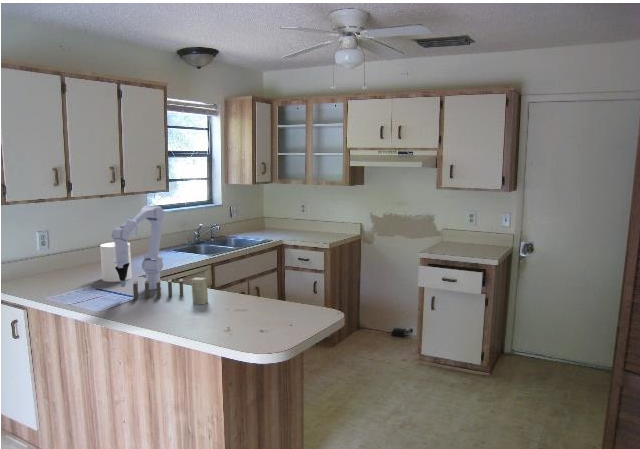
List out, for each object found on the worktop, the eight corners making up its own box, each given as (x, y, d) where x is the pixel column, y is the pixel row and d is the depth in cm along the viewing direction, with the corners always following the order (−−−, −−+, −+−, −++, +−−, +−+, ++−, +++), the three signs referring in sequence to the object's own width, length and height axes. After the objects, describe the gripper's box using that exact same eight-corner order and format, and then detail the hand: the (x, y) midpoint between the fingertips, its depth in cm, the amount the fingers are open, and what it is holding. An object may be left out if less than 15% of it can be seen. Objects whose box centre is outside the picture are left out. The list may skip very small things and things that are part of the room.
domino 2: (134, 296, 252) (134, 281, 250) (138, 296, 252) (137, 281, 251) (133, 299, 247) (133, 284, 246) (137, 299, 247) (136, 283, 246)
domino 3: (146, 296, 253) (145, 280, 252) (149, 295, 253) (149, 280, 252) (145, 298, 248) (144, 283, 247) (148, 298, 249) (148, 283, 247)
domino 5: (169, 294, 256) (168, 279, 254) (172, 294, 256) (171, 279, 255) (168, 297, 251) (167, 282, 250) (171, 297, 251) (171, 281, 250)
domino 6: (180, 294, 257) (179, 278, 256) (183, 293, 257) (182, 278, 256) (179, 296, 252) (179, 281, 251) (183, 296, 253) (182, 281, 251)
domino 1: (122, 284, 249) (121, 268, 248) (125, 284, 250) (125, 268, 249) (121, 286, 244) (120, 271, 243) (124, 286, 245) (123, 270, 244)
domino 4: (157, 295, 254) (157, 280, 253) (161, 295, 255) (160, 280, 254) (157, 298, 249) (156, 282, 248) (160, 297, 250) (159, 282, 249)
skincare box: (208, 302, 243) (207, 277, 241) (203, 304, 239) (203, 279, 237) (196, 301, 244) (195, 276, 243) (191, 303, 240) (191, 279, 239)
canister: (136, 275, 296) (135, 242, 293) (123, 282, 280) (121, 247, 277) (111, 274, 298) (109, 241, 295) (96, 281, 282) (94, 246, 279)
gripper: (115, 249, 251) (116, 276, 253) (110, 255, 237) (112, 283, 239) (130, 249, 252) (131, 275, 254) (126, 254, 238) (128, 282, 240)
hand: (123, 279), depth 247 cm, fingers closed on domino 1, 5 cm apart
